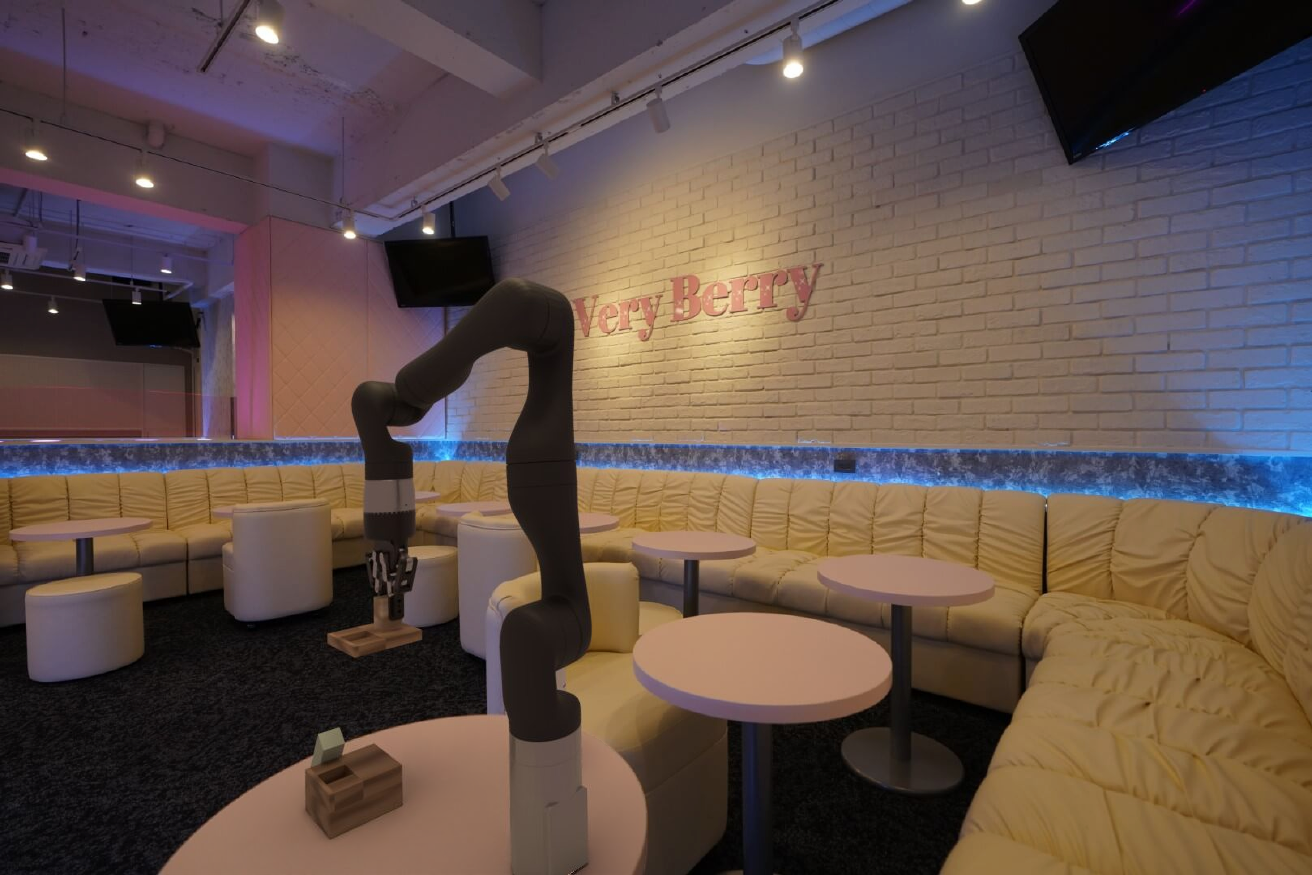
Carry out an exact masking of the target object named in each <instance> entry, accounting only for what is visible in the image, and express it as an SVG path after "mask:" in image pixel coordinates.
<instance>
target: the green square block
mask: <svg viewBox="0 0 1312 875" xmlns="http://www.w3.org/2000/svg"><path fill="white" fill-rule="evenodd" d="M345 745H346V742H345V739H344V736H343V733H342V731H341V728H340V727H336V728H334V729H332V728H331V729H330V730H326V731H323V732H321V733H318V734H317V737H316V741H315V746H314V750H313V755H312V759H311V762H310V764H311V765H310V767H313V766H315V765H318V764H320V763H323V762H326V761H328V760H331V759H334V758H336V757H339V756H342V755H343V753H344V749H345Z"/></svg>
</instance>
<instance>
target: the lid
mask: <svg viewBox="0 0 1312 875" xmlns="http://www.w3.org/2000/svg"><path fill="white" fill-rule="evenodd" d="M388 597H389V596H388V595H383V596H378V595H377V596H374V597H373V623H368V624H363V625H359V626H356V627H352V628H347V629H343V630H339V631H334V632H329V633H327V645H330V647H333V648H334V649H337V650H338V651H341V652H343V653H345V654H346V655H349V656H351V657H353V658H354V659H355V658H359V657H362V656H367V655H370V654H373V653H377V652H382V651H385V650H388V649H389V650H390V649H393V648H397V647H400V646H403V645H406V644H411V643H415V642H419V641H422V640H423V630H422V629H420V628H418V627H415V626H412V625H410V624H408V623H404V622H403V619H400V620H395V621H391V620H389V618H388Z"/></svg>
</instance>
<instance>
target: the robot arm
mask: <svg viewBox="0 0 1312 875" xmlns="http://www.w3.org/2000/svg"><path fill="white" fill-rule="evenodd" d="M575 328H576V326H575V316H574V310H573V307H572V304H571V302H570V301H569V299H568V298H567V296H566V295H565V294H563V293H562V292H561V291H559V290H558V289H555V288H552V287H550V286H547V285H544V284H541V283H539V282H536V281H532V280H529V279H526V278H522V277H517V276H515V277H514V276H513V277H508V278H505V279H503V280H500V281H499V282H498V283H496V284H495V285H493V286H492V287H491V288H490V289H489V290H488V291H487V292H486V293H485V294H484V295H482V296H481V298H480V299H479V300H478V301H477V302H476V303H475V304H474V305H473V306H472V308H470V310H469V311H467V313H466V314H465V315H464V316H462V318H461V319H460V320H458V322H457V323H456V324H455V325H454V326H453V327H452V328H451V329H450V330H449V331H448V332H447V334H445V336H443V337H442V338H441V339H440V340H439V341H438V342H437V343H436V344H434V345H433V346H431V347H430V348H429V349H427V350H426V351H425V352H422V354H420V355H418V356H417V357H416V358H414V359H413V360H411V361H410V362H408V363H406V364H405V365H403V367H402V368H400V369H399V370H398V372H397V373H396V375H395V379H394V382H388V381H378V380H367V381H363V382H361V383H359V385H358V386H357V387H356V388H355V390H354V391H353V393H352V397H351V400H350V409H351V416H352V418H353V421H354V424H355V427H356V430H357V433H358V437H359V441H360V443H361V447H362V451H363V455H364V487H363V495H362V496H363V497H362V504H363V505H362V507H363V510H362V511H363V512H362V513H363V517H362V518H363V519H362V520H363V538H364V539H365V540H366V541H369V542H373V545H372V550H369V551H365V552H364V559H365V564H366V569H367V574H368V579H369V580H368V581H369V585H370V588H374V591H375V592H376V593H377V596H383V595H388V596H389V597H388V618H389V620H391V621H395V620H400V619H402V620H403V619H404V618H405V595H406V594H407V593H410V592H412V591H413V586H414V581H415V578H416V574H417V573H416V572H417V567H418V563H419V560H418V557H417V556H413V557H412V556H410V555H409V547H408V542H407V540H408V539H409V538H412V537H414V536H415V535H416V531H417V530H416V523H417V521H416V520H417V519H416V518H417V517H416V489H415V483H414V453H413V448H412V446H411V445H410V444H409V443H407V442H403V441H400V440H396V439H394V438H393V437H392V435H391V433H390V432H389V429H388V427H390V428H391V427H393V428H394V427H395V428H396V427H398V428H405V427H410V426H413V425H415V424H417V423H419V422H420V421H422V420H423V419H424V418H425V416H427V413H428V412H429V411H431V409H432V408H433V406H434V404H436V403H438V402H440V401H441V400H443V399H444V398H446V397H448V396H449V395H451V394H453V393H454V392H456V391H457V390H458V389H459V388H461V387H462V386H463V385H464V384H465V383H466V382H467V380H468V379H469V377H470V375H471V373H472V370H473V367H474V364H475V362H477V360H479V359H480V358H482V357H483V356H485V355H487V354H490V353H493V352H496V351H497V350H501V349H505V348H509V349H511V350H513V351H514V350H515V351H520V352H526V355H527V363H528V385H527V386H528V388H527V395H526V398H525V401H524V404H523V406H522V410H521V411H520V414H519V416H518V418H517V420H516V422H515V424H514V427H513V429H512V431H511V433H510V436H509V439H508V442H507V445H506V448H505V449H506V450H505V464H506V465H505V474H506V492H507V499H508V503H509V506H510V509H511V512H512V513H513V516H514V517H515V519H516V521H517V523H518V524H519V526H520V528H521V529H522V531H523V532H524V534H525V536H526V537H527V539H528V540H529V542H530V545H531V546H532V548H533V550H534V552H535V555H536V558H537V561H538V562H537V563H538V566H539V574H540V575H539V576H540V583H541V584H540V586H541V588H540V589H541V591H540V593H541V595H540V599H538V600H534V601H532V602H528V603H526V604H523V605H520V606H517V607H515V608H513V609H512V610H510V611H509V612H508V613H507V614H506V616H505V617H504V619H503V620H502V624H501V629H500V632H499V662H500V676H501V677H500V678H501V692H502V693H501V694H502V701H503V706H504V709H505V712H506V715H507V719H508V745H509V746H508V750H509V751H508V752H509V753H508V759H509V761H508V763H509V764H508V765H509V767H508V768H509V769H508V770H509V773H508V774H509V833H510V834H509V835H510V836H509V837H510V838H509V839H510V840H509V841H510V869H511V872H512V873H513V875H568V874H570V873H571V872H573V871H575V870H577V869H578V868H580V867H581V868H583V867H584V866H585V865H587V864H588V863H589V827H588V826H589V825H588V823H589V822H588V818H589V817H588V815H589V814H588V813H589V812H588V788H587V787H586V786H584V785H583V771H582V770H583V765H582V764H583V762H582V761H583V757H582V756H583V754H582V749H583V748H582V706H581V701H580V699H579V698H578V696H576V694H573V693H571V692H569V691H567V690H566V691H563V690H557V683H556V671H558V670H560V669H562V668H564V667H566V668H567V667H568V666H570V665H572V664H574V663H575V662H578V661H579V660H581V659H582V658H583V657H584V656H585V655H586V653H587V652H588V650H589V647H590V645H591V642H592V635H593V625H592V624H593V622H592V614H591V607H590V605H591V604H590V600H589V594H588V593H589V592H588V587H587V581H586V574H585V569H584V568H585V567H584V561H583V560H584V559H583V553H582V552H583V551H582V543H581V542H582V540H581V528H580V527H581V526H580V517H579V515H580V514H579V507H578V506H579V502H578V470H577V468H578V467H577V456H576V447H575V431H574V425H575V424H574V398H573V395H574V394H573V382H574V381H573V380H574V377H573V376H574V356H575V354H574V353H575ZM586 863H587V864H586ZM584 864H585V865H584ZM583 865H584V866H583ZM582 866H583V867H582ZM581 868H580V869H581ZM578 870H579V869H578ZM578 870H577V871H578Z"/></svg>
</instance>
